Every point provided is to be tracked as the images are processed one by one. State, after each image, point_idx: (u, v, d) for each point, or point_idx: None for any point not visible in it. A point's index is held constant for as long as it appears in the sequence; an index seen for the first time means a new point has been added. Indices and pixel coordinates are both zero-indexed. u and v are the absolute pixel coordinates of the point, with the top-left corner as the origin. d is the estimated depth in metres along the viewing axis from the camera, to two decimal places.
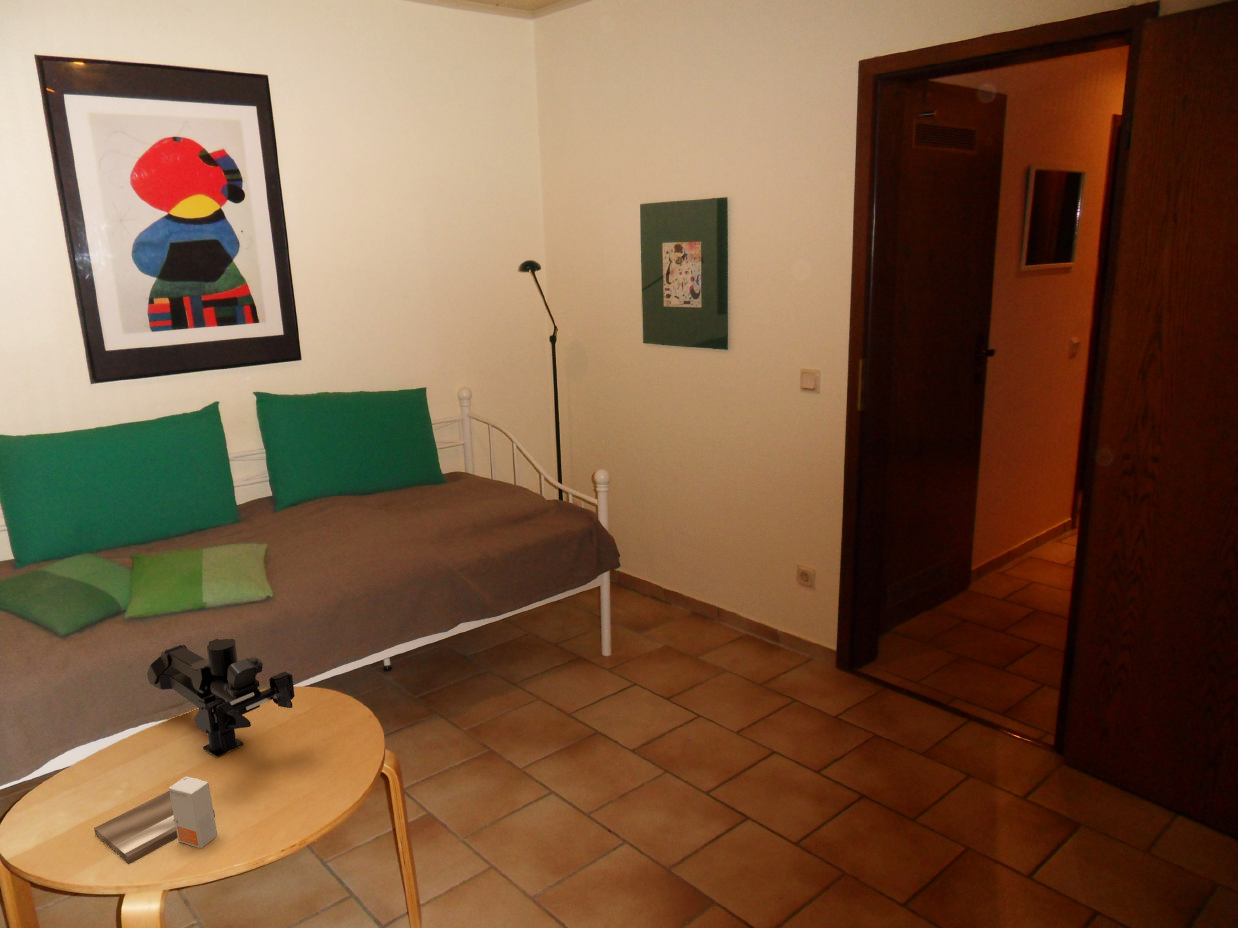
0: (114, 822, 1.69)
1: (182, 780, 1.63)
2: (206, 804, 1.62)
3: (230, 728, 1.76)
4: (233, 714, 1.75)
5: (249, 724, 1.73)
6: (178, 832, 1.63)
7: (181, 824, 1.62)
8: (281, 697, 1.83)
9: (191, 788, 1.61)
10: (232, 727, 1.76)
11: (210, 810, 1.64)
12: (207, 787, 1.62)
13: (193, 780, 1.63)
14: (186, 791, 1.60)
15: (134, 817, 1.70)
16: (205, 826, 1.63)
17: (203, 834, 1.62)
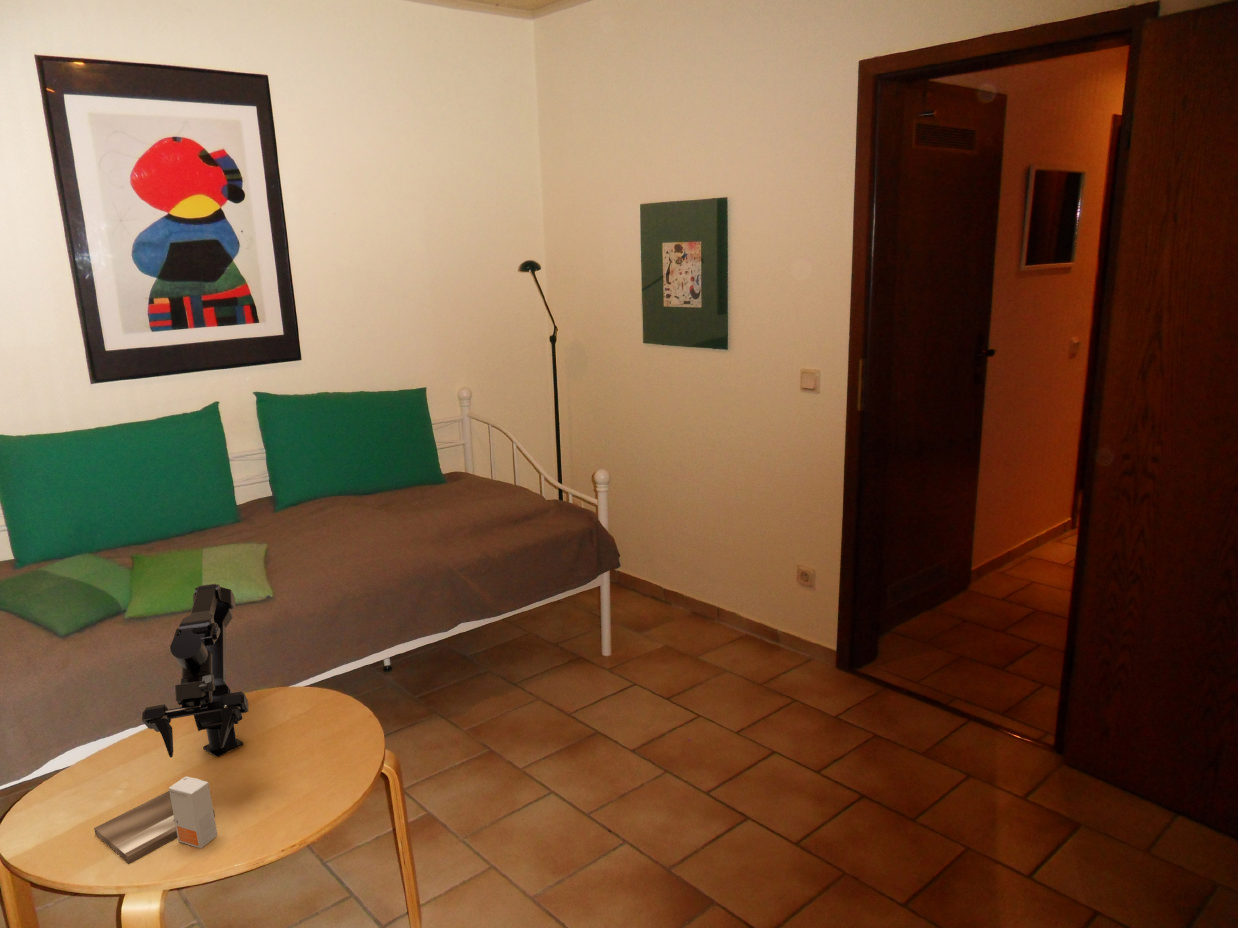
0: (114, 822, 1.69)
1: (182, 780, 1.63)
2: (206, 804, 1.62)
3: None
4: (163, 735, 1.69)
5: (170, 756, 1.68)
6: (178, 832, 1.63)
7: (181, 824, 1.62)
8: None
9: (191, 788, 1.61)
10: None
11: (210, 810, 1.64)
12: (207, 787, 1.62)
13: (193, 780, 1.63)
14: (186, 791, 1.60)
15: (134, 817, 1.70)
16: (205, 826, 1.63)
17: (203, 834, 1.62)
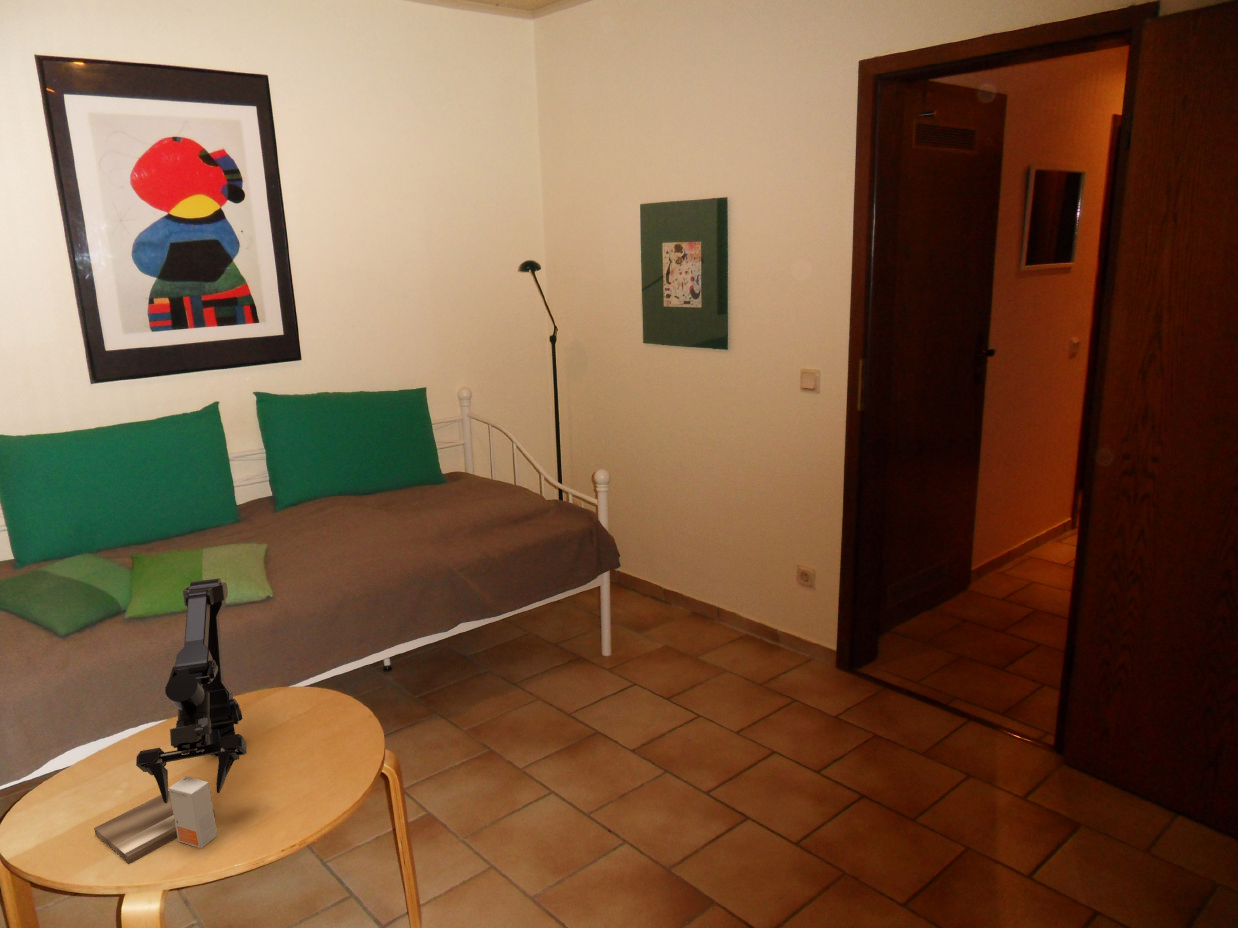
0: (114, 822, 1.69)
1: (182, 780, 1.63)
2: (206, 804, 1.62)
3: None
4: (157, 780, 1.63)
5: (165, 802, 1.62)
6: (178, 832, 1.63)
7: (181, 824, 1.62)
8: None
9: (191, 788, 1.61)
10: None
11: (210, 810, 1.64)
12: (207, 787, 1.62)
13: (193, 780, 1.63)
14: (186, 791, 1.60)
15: (134, 817, 1.70)
16: (205, 826, 1.63)
17: (203, 834, 1.62)
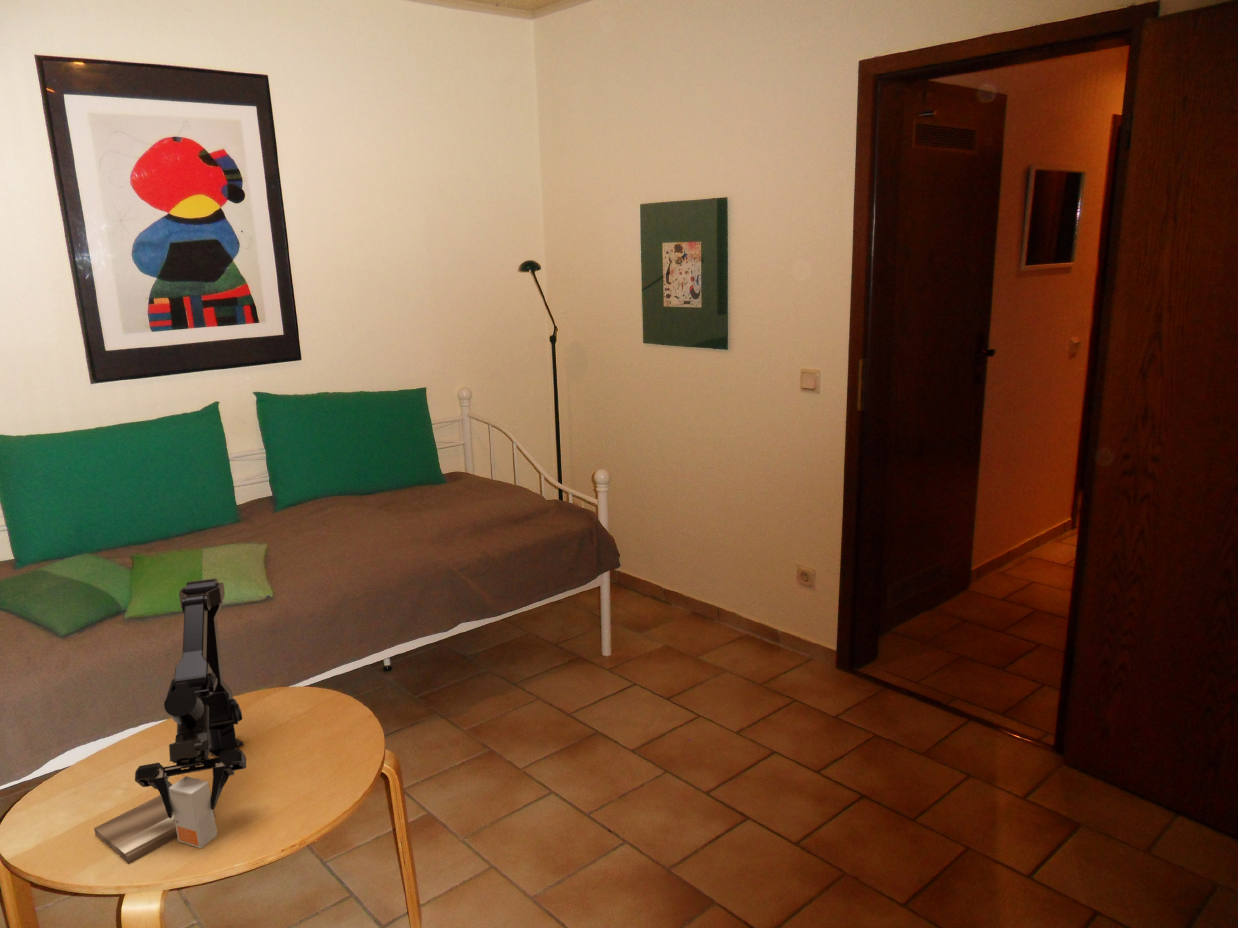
0: (114, 822, 1.69)
1: (182, 780, 1.63)
2: (206, 804, 1.62)
3: None
4: (162, 795, 1.62)
5: (169, 817, 1.61)
6: (178, 832, 1.63)
7: (181, 824, 1.62)
8: None
9: (191, 788, 1.61)
10: None
11: (210, 810, 1.64)
12: (207, 787, 1.62)
13: (193, 780, 1.63)
14: (186, 791, 1.60)
15: (134, 817, 1.70)
16: (205, 826, 1.63)
17: (203, 834, 1.62)
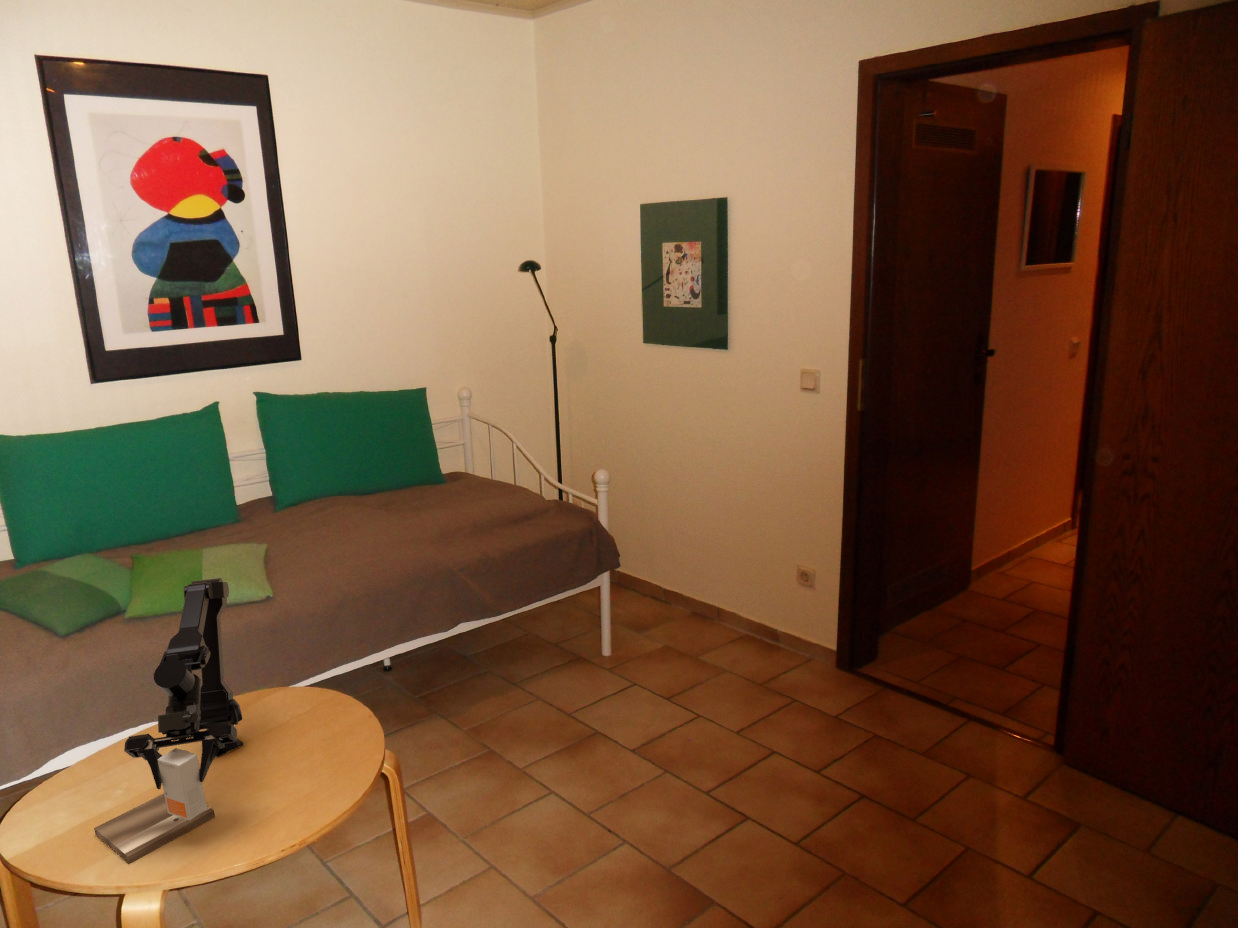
0: (114, 822, 1.69)
1: (171, 752, 1.63)
2: (194, 776, 1.62)
3: None
4: (151, 766, 1.61)
5: (158, 788, 1.60)
6: (167, 804, 1.63)
7: (170, 796, 1.62)
8: None
9: (179, 760, 1.60)
10: None
11: (199, 782, 1.63)
12: (196, 759, 1.62)
13: (182, 752, 1.63)
14: (174, 763, 1.59)
15: (134, 817, 1.70)
16: (194, 798, 1.62)
17: (192, 807, 1.62)
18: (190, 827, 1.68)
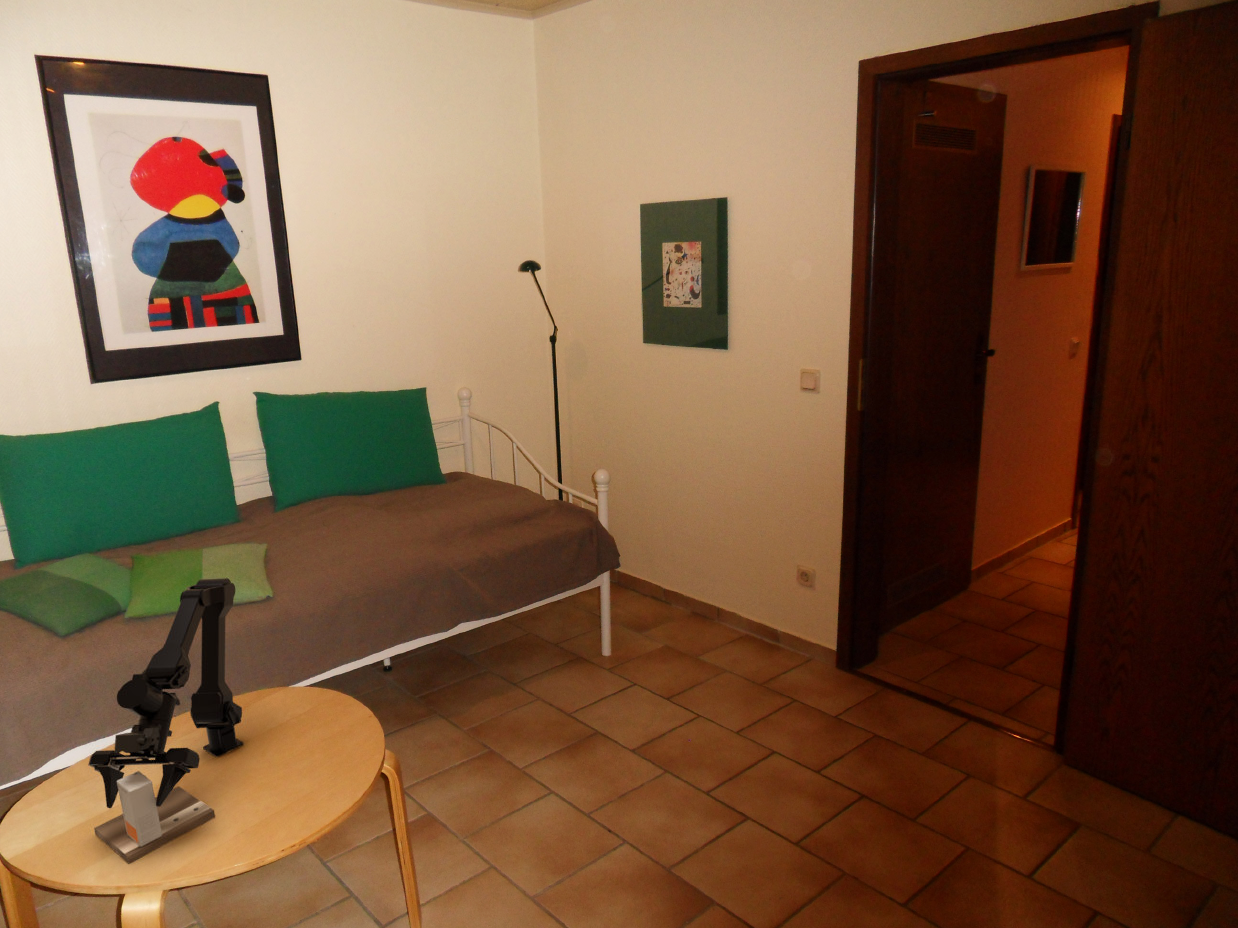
0: (114, 822, 1.69)
1: (132, 775, 1.63)
2: (148, 803, 1.61)
3: None
4: (105, 783, 1.62)
5: (108, 807, 1.61)
6: (126, 825, 1.63)
7: (126, 819, 1.62)
8: None
9: (133, 785, 1.60)
10: None
11: (153, 810, 1.62)
12: (150, 786, 1.61)
13: (141, 776, 1.62)
14: (126, 788, 1.59)
15: None
16: (146, 825, 1.61)
17: (144, 833, 1.61)
18: (190, 827, 1.68)
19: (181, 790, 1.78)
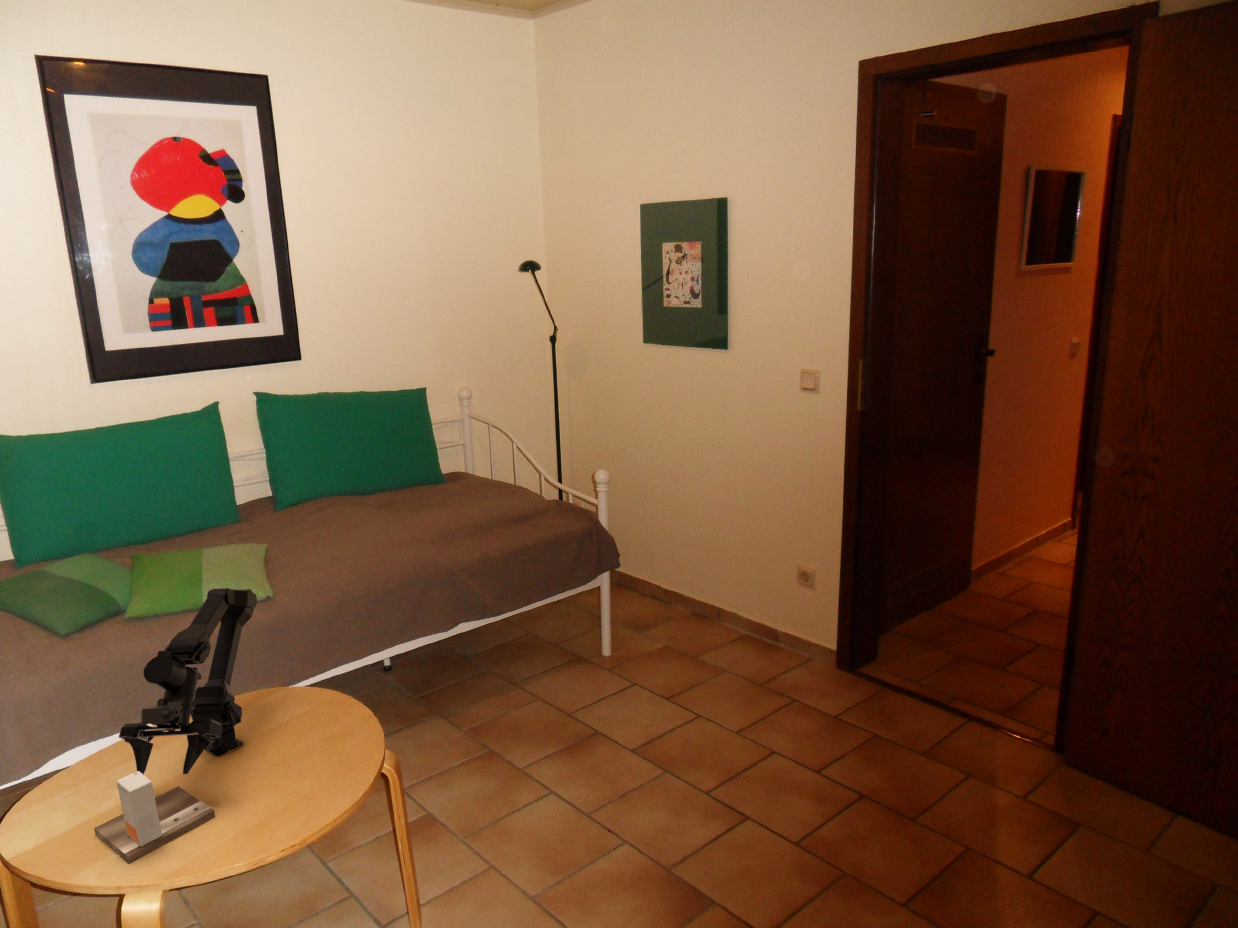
0: (114, 822, 1.69)
1: (132, 775, 1.63)
2: (148, 803, 1.61)
3: None
4: (135, 754, 1.71)
5: None
6: (126, 825, 1.63)
7: (126, 819, 1.62)
8: None
9: (133, 785, 1.60)
10: None
11: (153, 810, 1.62)
12: (150, 786, 1.61)
13: (141, 776, 1.62)
14: (126, 788, 1.59)
15: None
16: (146, 825, 1.61)
17: (144, 833, 1.61)
18: (190, 827, 1.68)
19: (181, 790, 1.78)
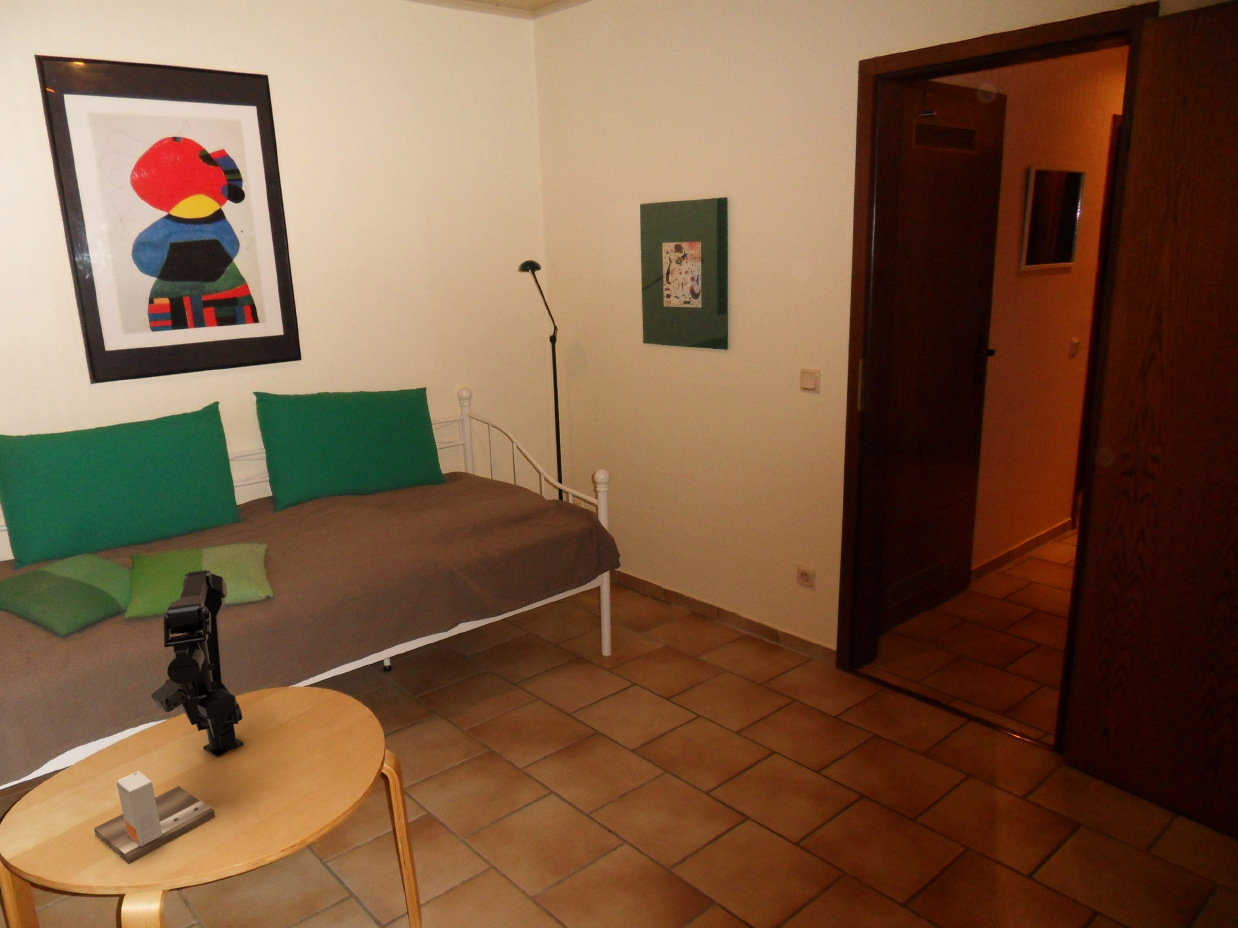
0: (114, 822, 1.69)
1: (132, 775, 1.63)
2: (148, 803, 1.61)
3: None
4: (182, 707, 1.80)
5: None
6: (126, 825, 1.63)
7: (126, 819, 1.62)
8: None
9: (133, 785, 1.60)
10: None
11: (153, 810, 1.62)
12: (150, 786, 1.61)
13: (141, 776, 1.62)
14: (126, 788, 1.59)
15: None
16: (146, 825, 1.61)
17: (144, 833, 1.61)
18: (190, 827, 1.68)
19: (181, 790, 1.78)
